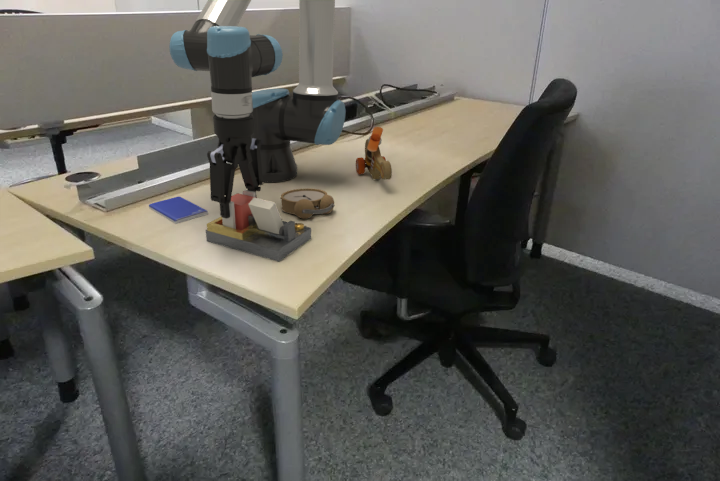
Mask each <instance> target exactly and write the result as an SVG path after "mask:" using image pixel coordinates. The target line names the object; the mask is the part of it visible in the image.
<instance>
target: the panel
mask: <svg viewBox="0 0 720 481" xmlns="http://www.w3.org/2000/svg"><path fill="white" fill-rule="evenodd" d="M281 219H282V222H283V225H284V236H280V235H276V234H272V233H269V232H265V231H261V230H258V229H257V223H256V221H255V219H254V216H253V214H251V215H249V216H248V220H249V226H248V227H247V228H245V229H243V230H237V229H234V228H230V227H226V226H223V222H222V217H221V216H219V217H217V218H216V219H214V220H212V221H209V222H208V223H206V229H205V238H206V242H209V243H213V244H216V245H220V246H223V247H227V248H230V249H234V250H237V251H240V252H243V253H247V254H250V255H255V256H258V257H261V258H264V259H268V260H272V261H276V262H280V261H282V260H284V258H286V257H288V256H289V255H291V254H292V253H293V252H294V251H296V250H298V249H299V248H300V247H301V246H303V245H305V244H306V243H307V242H309V241H310V240H312V227H309V226H306V225H304V223H302V222H298V223H297V222H296V221H293V220H289V221H285V220H283V218H282V217H281ZM295 222H296V223H295Z"/></svg>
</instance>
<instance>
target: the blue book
mask: <svg viewBox="0 0 720 481" xmlns="http://www.w3.org/2000/svg"><path fill="white" fill-rule="evenodd" d="M148 208H149V209H150V210H151V211H153V212H155V213H156V214H158V215H160V216H161V217H163V218H165V219H166V220H168V221H170V222H172V223H173V224H175V225H176V224H181V223H183V222H187V221H190V220H194V219H197V218H200V217H203V216H206V215H209V211H208V210H207V209H205V208H203V207H202V206H199V205H198V204H195V203H193V202H191V201H189V200H188V199H186V198H183V197H181V196H175V197H171V198H168V199H163V200H159V201H156V202H152V203H150V204H148Z"/></svg>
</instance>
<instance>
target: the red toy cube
mask: <svg viewBox="0 0 720 481" xmlns="http://www.w3.org/2000/svg"><path fill="white" fill-rule="evenodd" d="M253 198H256V197H251V196H247V195H243V193H235V194H232V196H231V201H232V202H234V209H235V223H236V229H237V230H243V229H245V228H247V227H248V226H249V220H248V216H249V215H251V214H252V212H251V209H250V207H249V205H248V204H249V203H250V202H251V200H252V199H253Z"/></svg>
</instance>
